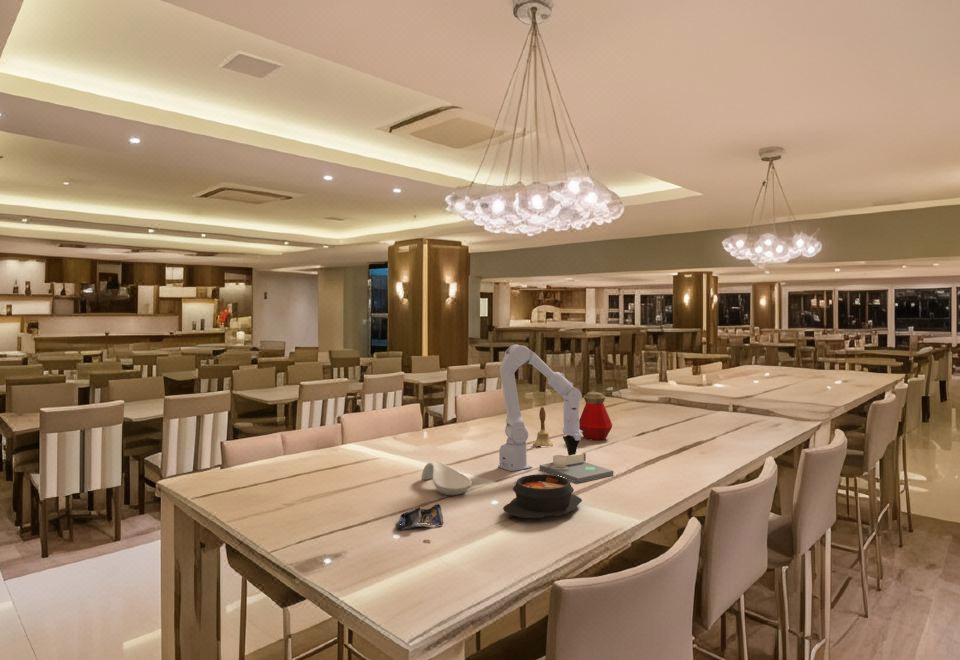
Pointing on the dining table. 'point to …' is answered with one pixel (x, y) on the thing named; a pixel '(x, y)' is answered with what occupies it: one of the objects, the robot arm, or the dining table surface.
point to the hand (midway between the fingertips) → (571, 455)
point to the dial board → (578, 471)
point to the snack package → (421, 517)
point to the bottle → (595, 417)
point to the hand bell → (542, 432)
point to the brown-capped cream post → (568, 459)
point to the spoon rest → (446, 479)
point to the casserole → (542, 497)
